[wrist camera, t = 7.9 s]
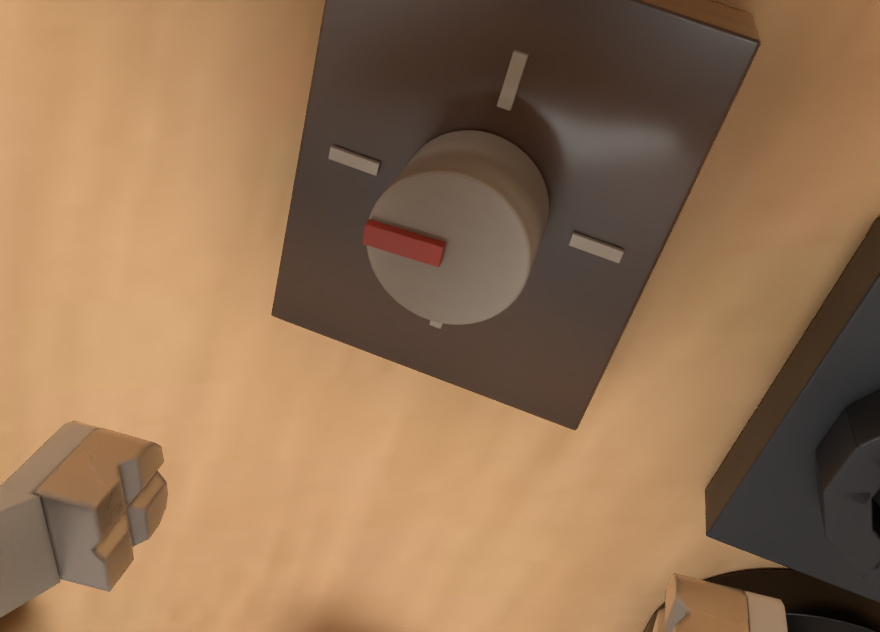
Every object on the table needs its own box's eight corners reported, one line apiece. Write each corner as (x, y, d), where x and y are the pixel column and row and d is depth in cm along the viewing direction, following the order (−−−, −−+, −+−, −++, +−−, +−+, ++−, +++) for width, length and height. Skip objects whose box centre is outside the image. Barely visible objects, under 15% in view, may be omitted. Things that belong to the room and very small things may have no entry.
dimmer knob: (568, 154, 20) (549, 206, 18) (528, 288, 23) (505, 353, 20) (415, 110, 21) (374, 154, 18) (390, 246, 23) (350, 303, 20)
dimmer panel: (382, -109, 21) (338, -99, 19) (754, 14, 21) (763, 43, 18) (307, 272, 28) (267, 318, 25) (586, 376, 27) (575, 435, 25)
